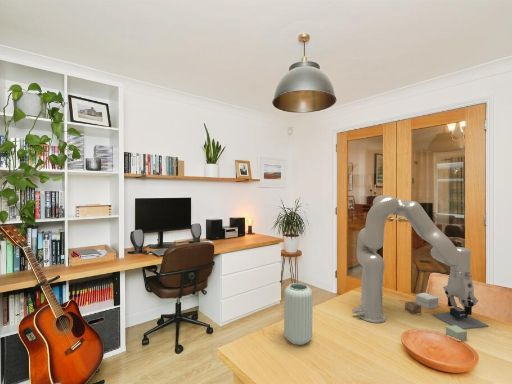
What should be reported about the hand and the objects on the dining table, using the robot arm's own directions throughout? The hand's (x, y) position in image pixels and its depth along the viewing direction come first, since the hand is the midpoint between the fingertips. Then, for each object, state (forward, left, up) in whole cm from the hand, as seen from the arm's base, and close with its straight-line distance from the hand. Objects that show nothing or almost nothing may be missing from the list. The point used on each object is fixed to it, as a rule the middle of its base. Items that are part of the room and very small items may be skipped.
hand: (459, 310), depth 128 cm
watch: (0, 0, -3) cm, 3 cm away
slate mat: (0, 0, -5) cm, 5 cm away
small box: (-1, +17, -5) cm, 18 cm away
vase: (-81, -1, -5) cm, 81 cm away
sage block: (-15, -12, -5) cm, 20 cm away
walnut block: (-14, +12, -5) cm, 20 cm away
